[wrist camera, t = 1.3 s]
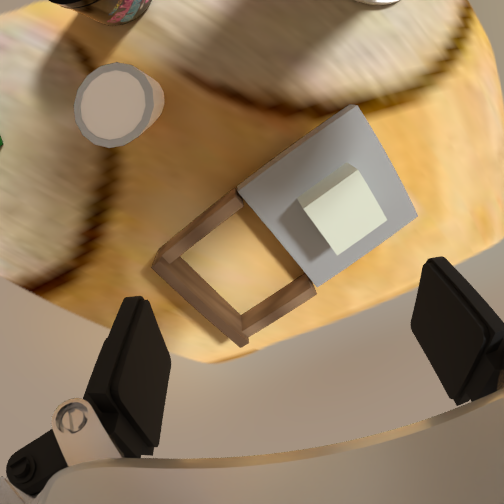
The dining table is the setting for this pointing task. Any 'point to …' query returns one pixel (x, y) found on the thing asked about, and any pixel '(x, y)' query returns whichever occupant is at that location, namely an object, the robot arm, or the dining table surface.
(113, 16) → the supplement container
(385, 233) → the plate
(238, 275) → the dining table surface
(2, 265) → the dining table surface
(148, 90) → the white cup
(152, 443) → the robot arm
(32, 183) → the dining table surface
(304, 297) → the box
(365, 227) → the off-white flat block
